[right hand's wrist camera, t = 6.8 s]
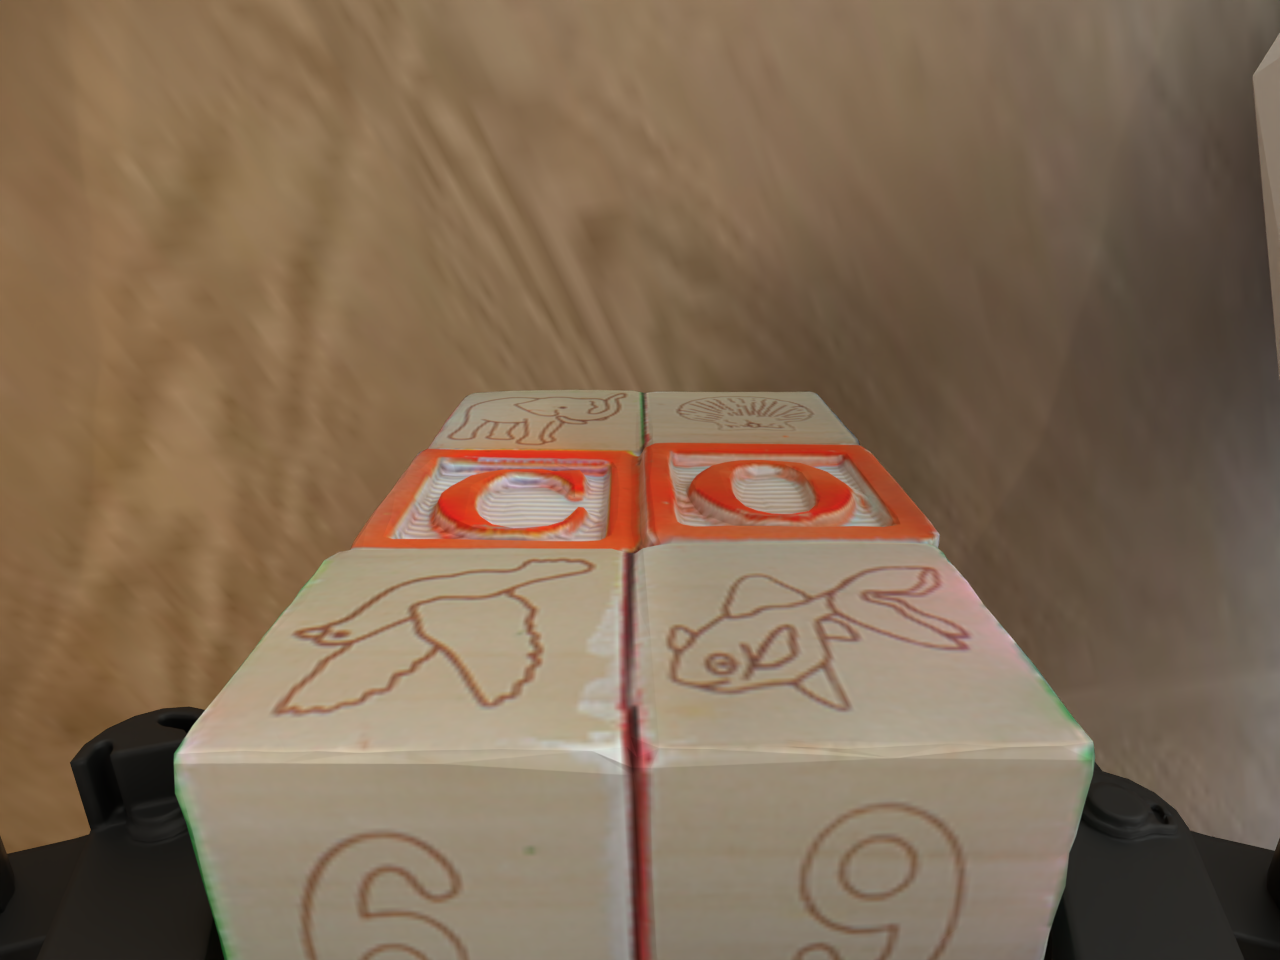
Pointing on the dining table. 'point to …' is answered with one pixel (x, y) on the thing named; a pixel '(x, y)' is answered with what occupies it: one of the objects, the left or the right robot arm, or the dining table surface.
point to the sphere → (1270, 165)
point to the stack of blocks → (637, 711)
